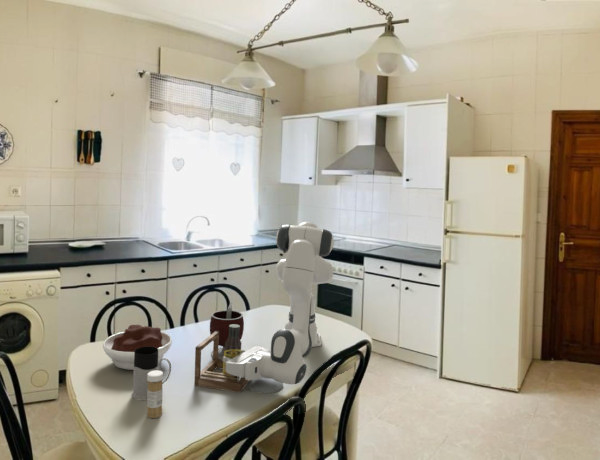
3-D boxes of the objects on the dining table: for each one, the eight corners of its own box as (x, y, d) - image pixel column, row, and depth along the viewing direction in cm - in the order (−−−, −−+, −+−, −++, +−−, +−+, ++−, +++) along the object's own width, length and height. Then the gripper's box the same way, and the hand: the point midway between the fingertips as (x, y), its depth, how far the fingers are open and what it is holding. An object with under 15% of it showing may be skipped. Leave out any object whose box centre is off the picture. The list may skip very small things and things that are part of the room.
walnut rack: (214, 365, 178) (215, 331, 177) (255, 371, 175) (257, 336, 174) (194, 385, 161) (195, 347, 159) (240, 392, 158) (241, 353, 156)
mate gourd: (239, 362, 183) (241, 313, 181) (205, 360, 184) (207, 311, 181) (245, 348, 199) (247, 303, 197) (213, 346, 199) (215, 301, 197)
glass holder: (144, 385, 159) (144, 344, 157) (178, 394, 154) (179, 351, 152) (125, 396, 151) (126, 352, 149) (161, 406, 146) (162, 360, 144)
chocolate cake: (115, 384, 159) (115, 342, 157) (94, 360, 178) (94, 322, 176) (182, 368, 175) (183, 330, 173) (156, 347, 194) (157, 313, 192)
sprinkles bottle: (157, 409, 143) (158, 368, 142) (165, 415, 140) (166, 373, 139) (143, 414, 140) (144, 372, 138) (151, 420, 137) (152, 377, 135)
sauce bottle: (223, 382, 165) (225, 328, 163) (221, 374, 171) (223, 323, 169) (241, 380, 167) (243, 328, 164) (238, 373, 173) (241, 322, 170)
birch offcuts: (206, 379, 166) (206, 370, 166) (239, 384, 164) (239, 375, 163) (202, 383, 163) (202, 374, 162) (235, 388, 160) (235, 379, 160)
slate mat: (255, 376, 171) (255, 374, 171) (286, 380, 169) (286, 379, 169) (244, 390, 159) (244, 388, 159) (278, 395, 157) (278, 393, 157)
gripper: (277, 346, 171) (246, 338, 177) (246, 364, 153) (213, 355, 159) (276, 362, 172) (245, 354, 178) (246, 382, 153) (212, 372, 160)
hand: (230, 355), depth 168 cm, fingers open, 6 cm apart
